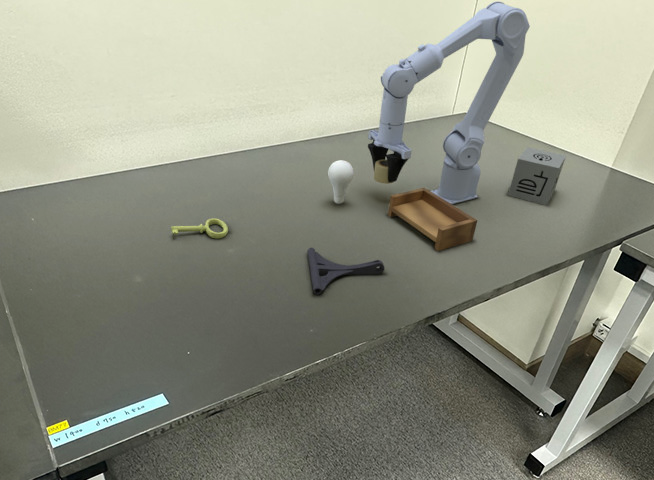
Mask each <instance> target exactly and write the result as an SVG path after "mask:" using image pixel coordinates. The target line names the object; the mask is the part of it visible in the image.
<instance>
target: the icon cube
mask: <svg viewBox="0 0 654 480" xmlns="http://www.w3.org/2000/svg"><path fill="white" fill-rule="evenodd" d="M566 158H567V155H566V154H561V153H556V152H551V151H547V150H542V149H538V148H533V147H528V146H527V147H526V148H525V149H524V150H523V152H522V153H521V154H520V156H518V158H517V161H516V164H515V169H514V172H513V175H512V179H511V183H510V186H509V190H508V193H507V196H509V197H513V198H517V199H521V200H525V201H529V202H532V203H536V204H540V205H543V206H548V204H549V202H550V200H551V198H552V196H553V194H554V193H555V191H556V187H557V185H558V181H559V178H560V175H561V173H562V169H563V166H564V163H565V161H566Z"/></svg>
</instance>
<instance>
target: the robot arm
mask: <svg viewBox="0 0 654 480" xmlns="http://www.w3.org/2000/svg"><path fill="white" fill-rule="evenodd" d="M530 26H531V25H530V23H529V20H528V18H527V14H526V12H525V11H524V10H523V9H521V8H519V7H514V6H511V5H509V4H505V3H504V2H502V1H493V2H491V3H489V4H488V5H487V6H486V7H483V8H481V9H479V10H478V11H477V12H476V13H475V14H474V15H473V16H472V17H471V18H470V19H468V20H467V21H466V22H464V23H463V24H462V25H460V26H459V27H458V28H456V29H455V30H454V31H453V32H451V33H450V34H448V35H447V36H446V37H444V38H443V39H442V40H440V41H439V42H438V43H436V44H434V43H426V44H423V43H422V44H419V46H417V50H416V51H415V52H413V53H412V54H409V56H408V57H405V58H401V59H399V61H398V63H396V64H391V65H389V66H387V68H385V69H384V72H383V73H382V75H381V76H380V83H381V86H382V88H383V91H382V99H381V106H380V115H379V123H378V124H379V125H378V130H377V129H372V130H368V135H367V136H368V137H367V138H368V140H369V141H372V142H371V143H367V148H368V150H369V153H370V156H371V161H372V167H373V172H374V171H375V163H376V161H378V160H387V162H388V182H390V183H389V184H392V183H391V182H393V183H395V182H397V180H398V178H399V175H400V174H401V171H402V170H403V167H404V166H405V164H406V163H407V162H408V160H410V159H411V158H412V153H413V150H412V149H411V148H409V147H408V146H407V144H406V143H405V142H404V141H403V135H404V128H405V120H406V114H407V106H408V97H409V95H410V94H411V93H412V92H413V90H414V88H415V86H416V84H418V83H420V82H421V81H422V80H424V79H426V78H428V77H429V76H430V75H432V74H433V73H435V72H437V70H439V69H441V68H442V66H443V63H444V60H445V59H447V58H448V57H450V56H451V55H453V54H455V53H456V52H459V50H461V49H463V48H464V47H466V46H468V45H470V44H471V43H473V42H474V41H477V40H489V41H490V40H491V43H492V45H493V48H494V51H495V56H494V58H493V59H492V61H491V63H490V66H489V68H488V70H487V72H486V73H485V76H484V78H483V79H482V82H481V84H480V86H479V87H478V89H477V92H476V94H475V95H474V98H473V99H472V102H471V104H470V106H469V108H468V110H467V112H466V113H465V116H464V118H463V119H462V120H461V121H459V122H457V123H456V124H455V125H454V127H453V128H452V130H451V131H450V132H449V133H448V134H447V135H446V136H445V138H444V139H443V142H442V149H443V151H444V153H445V156H444V159H443V163H442V168H441V174H440V180H439V185H438V188H437V189H433V190H430V191H431V192H432V193H434V194H435V195H437V196H439V197H440V198H442V199H444V200H445V201H447V202H449V203H450V204H452V205H455V204H459V203H462V202H466V201H471V200H474V199H477V198H478V195H477V190H478V185H479V182H480V178H481V166H480V165H479V163H478V162H479V161H480V159H481V157H482V149H483V146H484V144H485V131H484V130H485V129H486V127H487V125H488V123H489V121H490V119H491V117H492V115H493V113H494V111H495V110H496V107H497V106H498V104H499V102H500V100H501V98H502V96H503V94H504V92H505V90H506V88H507V87H508V85H509V83H510V81H511V79H512V78H513V75H514V74H515V72H516V69H517V68H518V67H519V64H520V62H521V60H522V58H523V57H524V54H525V46H526V45H525V44H526V35H527V33H528V31H529V29H530ZM389 150H390V151H392V152H393V153H388V151H389Z"/></svg>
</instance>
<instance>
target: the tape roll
mask: <svg viewBox="0 0 654 480" xmlns="http://www.w3.org/2000/svg"><path fill="white" fill-rule="evenodd" d="M373 180H374V181H375V182H377V183H379V184H385V185H387V184H388V185H389V184H392V183H394V182H391V183H390V182H388V162H387V159H385V160H378V161H376V163H375V171H374V170H373Z"/></svg>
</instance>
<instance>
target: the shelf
mask: <svg viewBox="0 0 654 480" xmlns="http://www.w3.org/2000/svg"><path fill="white" fill-rule="evenodd" d="M431 191H432V190H429V189H427V188H426V187H421V188H417V189H412V190H407V191H403V192H400V193H394V194H391V195H390V196H389V205H388V211H387V216H388V217H390V218H393V217H397V216H398V217H399V218H401V219H402V220H403V221H405V222H406V223H408V224H409V225H411V226H412V227H413V228H414V229H416V230H418V231H419V232H420V233H422V234H423V235H425V236H426V237H427V238H429V239H430V240H432V241H433V242H434V243H435V244H434V250H436V252H440V251H443V250H446V249H450V248H453V247H457V246H460V245H463V244H467V243H470V242H473V241H474V237H475V233H476V229H477V224H478V219H477V218H475V217H474V216H471V215H470V214H468V213H466V212H465V211H463V210H462V209H460V208H458V207H457V206H455V205H454V204H450V203H449V202H447V201H445V200H444V199H442V198H440V197H439V196H437V195H435V194H434V193H432V192H431Z"/></svg>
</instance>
